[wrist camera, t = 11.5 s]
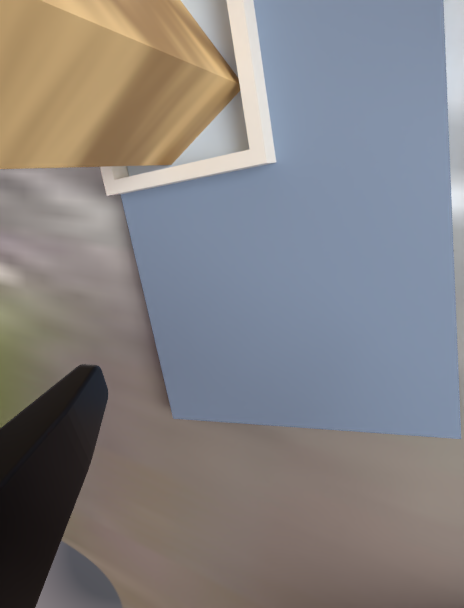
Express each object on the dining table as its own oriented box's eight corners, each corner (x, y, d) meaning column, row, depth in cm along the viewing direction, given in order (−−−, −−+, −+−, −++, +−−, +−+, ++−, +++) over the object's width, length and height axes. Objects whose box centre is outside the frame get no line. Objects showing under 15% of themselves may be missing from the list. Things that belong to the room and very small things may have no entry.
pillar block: (244, 86, 16) (-148, -79, 5) (171, 164, 19) (-216, 174, 7) (174, -8, 16) (-380, -387, 5) (109, 82, 19) (-377, -38, 7)
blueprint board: (459, 425, 18) (463, 456, 16) (182, 409, 24) (161, 430, 22) (432, -217, 13) (434, -284, 11) (81, -35, 19) (41, -58, 17)
